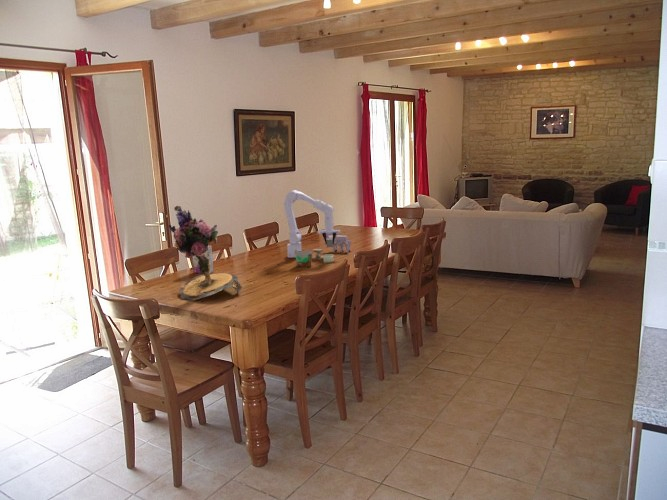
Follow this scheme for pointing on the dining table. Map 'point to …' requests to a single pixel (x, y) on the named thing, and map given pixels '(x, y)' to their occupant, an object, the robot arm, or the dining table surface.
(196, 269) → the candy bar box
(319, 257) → the tan rounded lump
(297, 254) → the food container
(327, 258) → the pale green flanged block
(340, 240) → the toy sheep
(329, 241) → the gray metal block
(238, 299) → the dining table surface
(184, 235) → the bouquet
